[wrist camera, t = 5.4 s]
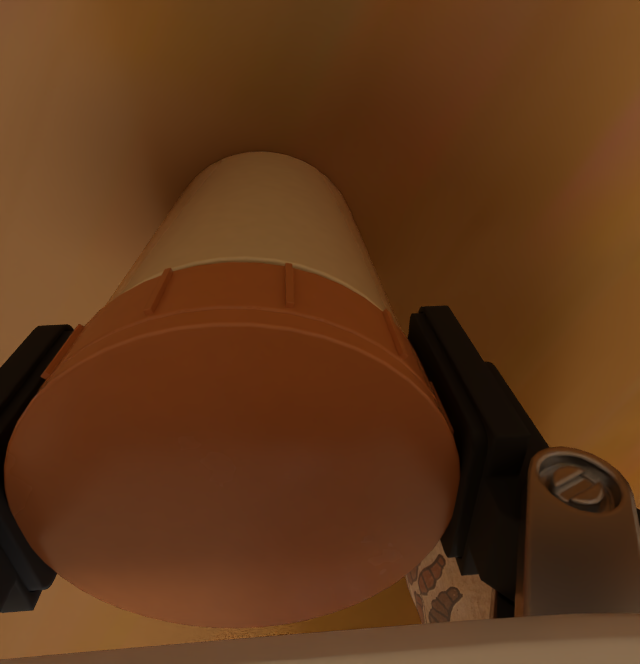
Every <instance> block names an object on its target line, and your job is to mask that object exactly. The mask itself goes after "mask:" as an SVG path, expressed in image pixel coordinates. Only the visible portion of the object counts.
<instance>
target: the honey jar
mask: <svg viewBox="0 0 640 664" xmlns="http://www.w3.org/2000/svg"><path fill="white" fill-rule="evenodd" d="M225 262H257V263H265V264H273V265H280V266H285V263H291V264H292V266H293V268H295V269H299V270H302V271H306V272H310V273H314V274H317V275H319V276H322V277H324V278H327V279H329V280H332V281H334V282H337V283H339V284H342V285H343V286H345V287H347V288H349V289H350V290H352V291H354V292H356V293H358V294H359V295H361V296H363V297H365V298H366V299H367V300H369V301H370V302H371V303H372V304H374V305H375V306H376V307H378V308H379V309H380V310H382V311H384V310H385V309H387V310H388V311H389V312H390V313H391V316H392V318H393V321H394V323H395V324H396V325H397V326H398V327H399V328H400V326H399V324H398V321H397V319H396V317H395V314H394V312H393V310H392V307H391V305H390V303H389V300H388V298H387V296H386V293H385V291H384V289H383V286H382V284H381V282H380V279H379V277H378V275H377V272H376V270H375V268H374V265H373V263H372V260H371V258H370V256H369V253H368V251H367V249H366V246H365V244H364V242H363V239H362V237H361V235H360V232H359V230H358V228H357V225H356V223H355V221H354V218H353V216H352V214H351V211H350V209H349V207H348V205H347V203H346V201H345V199H344V198H343V196H342V194H341V193H340V192H339V190H338V189H337V188H336V186H335V185H334V184H333V183H332V182H331V181H330V180H329V179H328V178H327V177H326V176H325V175H324V174H322V173H321V172H320V171H318V170H317V169H316V168H314V167H312V166H311V165H309V164H307V163H305V162H304V161H301V160H299V159H296V158H294V157H291V156H288V155H284V154H280V153H273V152H247V153H241V154H236V155H233V156H230V157H227V158H224V159H222V160H220V161H218V162H216V163H214V164H212V165H211V166H209V167H208V168H206V169H205V170H203V171H202V172H201V173H200V174H199V175H197V176H196V177H195V178H194V179H193V180H192V181H191V183H190V184H189V185H188V186H187V188H186V189H185V190H184V192H183V193H182V195H181V196H180V197H179V199H178V200H177V202H176V203H175V205H174V206H173V208H172V209H171V211H170V212H169V213H168V215H167V216H166V218H165V219H164V221H163V222H162V224H161V225H160V227H159V228H158V229H157V231H156V232H155V234H154V235H153V237H152V238H151V240H150V241H149V243H148V244H147V245H146V247H145V248H144V250H143V251H142V253H141V254H140V256H139V257H138V259H137V260H136V261H135V263H134V264H133V266H132V267H131V269H130V270H129V272H128V273H127V275H126V276H125V277H124V279H123V280H122V282H121V283H120V285H119V286H118V288H117V289H116V291H115V292H114V293H113V295H112V296H111V298H110V299H109V301H108V302H107V304H109V303H110V302H111V301H113V300H114V299H115V298H117V297H118V296H119V295H121V294H122V293H124V292H126V291H128V290H130V289H132V288H134V287H135V286H137V285H139V284H141V283H143V282H145V281H148V280H150V279H153V278H156V277H158V276H161V275H162V273H163V271H164V270H165V269H167V268H171V269H172V271H176V270H181V269H185V268H189V267H193V266H197V265H206V264H215V263H225ZM107 304H106V305H107ZM106 305H105V306H106ZM400 329H401V328H400Z"/></svg>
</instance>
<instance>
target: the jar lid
mask: <svg viewBox="0 0 640 664" xmlns="http://www.w3.org/2000/svg"><path fill="white" fill-rule="evenodd" d="M41 377H42V378H44V379H46V381H45V382H44V384H43V385H42V386H41V388H40V389H39V390H38V392H37V393H36V395H35V396H34V398H33V399H32V400H31V402H30V403H29V405H28V406H27V408H26V409H25V411H24V412H23V414H22V415H21V417H20V418H19V420H18V421H17V423H16V426H15V428H14V430H13V433H12V435H11V437H10V440H9V442H8V446H7V452H6V457H5V462H4V490H5V494H6V498H7V502H8V506H9V509H10V511H11V513H12V515H13V516H14V518H15V520H16V522H17V524H18V526H19V528H20V530H21V531H22V533H23V535H24V537H25V538H26V540H27V542H28V543H29V545H30V546H31V548H32V549H33V551H34V552H35V553H36V554H37V555H38V556H39V557H40V558H41V559H42V560H43V561H44V563H46V564H47V565H48V566H49V567H50V568H51V569H53V570H54V571H55V572H56V573H57V574H59V575H60V576H61V577H62V578H64V579H65V580H67V581H68V582H70V583H71V584H73V585H74V586H76V587H77V588H79V589H80V590H82V591H84V592H86V593H88V594H90V595H92V596H94V597H95V598H97V599H99V600H101V601H104V602H106V603H108V604H111V605H113V606H116V607H118V608H120V609H123V610H126V611H129V612H132V613H135V614H139V615H142V616H145V617H149V618H153V619H157V620H162V621H166V622H171V623H177V624H184V625H190V626H200V627H212V628H252V627H266V626H275V625H283V624H289V623H294V622H299V621H304V620H309V619H313V618H316V617H320V616H324V615H328V614H331V613H334V612H336V611H339V610H342V609H345V608H348V607H350V606H353V605H355V604H357V603H359V602H362V601H364V600H366V599H368V598H370V597H372V596H374V595H376V594H378V593H379V592H381V591H383V590H385V589H387V588H388V587H390V586H391V585H393V584H394V583H396V582H397V581H398V580H400V579H401V578H403V577H404V576H406V575H407V574H408V573H409V572H410V571H411V570H413V569H414V568H415V567H416V566H417V565H418V564H420V563H421V562H422V560H423V559H424V558H425V557H426V556H427V555H428V554H429V553H430V552H431V551H432V550H433V549H434V547H435V546H436V544H437V543H438V541H439V540H440V539H441V537H442V536H443V534H444V533H445V531H446V529H447V527H448V525H449V523H450V521H451V519H452V516H453V511H454V507H455V502H456V497H457V492H458V487H459V481H460V458H459V453H458V450H457V446H456V443H455V439H454V436H453V434H454V430H453V428H452V425H451V423H450V421H449V419H448V417H447V414H446V412H445V410H444V408H443V405H442V403H441V401H440V399H439V397H438V394H437V392H436V390H435V388H434V385H433V383H432V382H429V380H428V378H427V375H426V373H425V371H424V369H423V366H422V364H421V362H420V360H419V358H418V356H417V354H416V352H415V350H414V348H413V346H412V345H411V343H410V342H409V340H408V339H407V338H406V336H405V335H404V333H403V332H402V331H401V329H400V328H399V327H398V326H397V325H396V324H395V323H394V321H393V318H392V316H391V313H390V312H389V311H388V310H387V309H385V310H384V311H382V310H380V309H379V308H378V307H376V306H375V305H374V304H372V303H371V302H370V301H369V300H367V299H366V298H365V297H363V296H361V295H359V294H358V293H356V292H354V291H352V290H350V289H349V288H347V287H345V286H343V285H342V284H339V283H337V282H334V281H332V280H329V279H327V278H324V277H322V276H319V275H317V274H314V273H310V272H306V271H302V270H299V269H295V268H293V266H292V264H291V263H285V266H280V265H273V264H265V263H257V262H225V263H215V264H206V265H197V266H193V267H189V268H185V269H181V270H176V271H172V269H171V268H167V269H165V270H164V271H163V273H162V275H161V276H158V277H156V278H153V279H150V280H148V281H145V282H143V283H141V284H139V285H137V286H135V287H134V288H132V289H130V290H128V291H126V292H124V293H122V294H121V295H119V296H118V297H117V298H115V299H114V300H113V301H111V302H110V303H109V304H107V305H106V306H105V307H103V308H102V309H101V310H99V311H98V312H97V314H96V315H95V316H94V317H93V318H92V319H91V320H90V321H89V322H88V323H87V324H86V325H85V326H82V325H80V324H79V325H78V326H77V327H76V328H75V330H74V331H73V332H72V334H71V335H70V336H69V338H68V339H67V341H66V342H65V343H64V345H63V346H62V347H61V349H60V350H59V351H58V353H57V354H56V356H55V357H54V358H53V360H52V361H51V362H50V364H49V365H48V367H47V368H46V369H45V371H44V372H43V373H42V375H41Z"/></svg>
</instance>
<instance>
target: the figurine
mask: <svg viewBox="0 0 640 664" xmlns="http://www.w3.org/2000/svg"><path fill="white" fill-rule="evenodd" d="M405 577H406V581H407V585H408V589H409V592H410V594H411V597H412V599H413V601H414V603H415V606H416V608H417V611H418V613H419V616H420V618H421V622H422V624H428V623H440V622H453V621H465V620H481V619H489V614H490V603H491V592H492V587H490V586H489V585H487V584H486V583H484V582H483V581H481V579H480V577H479V574H477V575H465V576H461V573H460V570H459V567H458V565H457V562H456V559H455V557H453V558H448V557H447V556H446V555H445V553H444V550H443V547H442V544H441V541H440V540H439V541H438V543H437V544H436V546H435V547H434V549H433V550H432V551H431V552H430V553H429V554H428V555H427V556H426V557H425V558H424V559H423V560H422V562H421V563H420V564H418V565H417V566H416V567H415V568H414V569H413V570H411V571H410V572H409V573H408V574H407V575H406V576H405Z"/></svg>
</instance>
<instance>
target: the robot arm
mask: <svg viewBox="0 0 640 664" xmlns="http://www.w3.org/2000/svg"><path fill="white" fill-rule="evenodd" d="M73 331H74V329H73V328H72V327H71V326H70V325H68V324H66V325H46V326H38V327H36V328H35V329H34V330H33V331H32V332H31V334H30V335H29V336H28V337H27V338H26V339H25V340H24V342H23V343H22V344H21V345H20V346H19V347H18V348H17V349H16V351H15V352H14V353H13V354H12V355H11V356H10V357H9V359H8V360H7V361H6V362H5V363H4V364H3V365H2V367H1V368H0V612H1V613H5V612H18V611H30V610H34V608H35V605H36V603H37V601H38V598H39V596H40V594H41V592H42V590H45V589H48V588H49V587H50V586H51V585H52V583H53V581H54V579H55V577H56V574H57V573H56V572H55V571H54V570H53V569H51V568H50V567H49V566H48V565H47V564H46V563H44V561H43V560H42V559H41V558H40V557H39V556H38V555H37V554H36V553H35V552H34V551H33V549H32V548H31V546H30V545H29V543H28V542H27V540H26V538H25V537H24V535H23V533H22V531H21V530H20V528H19V526H18V524H17V522H16V520H15V518H14V516H13V515H12V513H11V511H10V509H9V506H8V502H7V498H6V494H5V490H4V462H5V457H6V452H7V446H8V442H9V440H10V437H11V435H12V433H13V430H14V428H15V426H16V423H17V421H18V420H19V418H20V417H21V415H22V414H23V412H24V411H25V409H26V408H27V406H28V405H29V403H30V402H31V400H32V399H33V398H34V396H35V395H36V393H37V392H38V390H39V389H40V388H41V386H42V385H43V384H44V382H45V381H46V379H44V378H42V377H41V375H42V373H43V372H44V371H45V369H46V368H47V367H48V365H49V364H50V362H51V361H52V360H53V358H54V357H55V356H56V354H57V353H58V351H59V350H60V349H61V347H62V346H63V345H64V343H65V342H66V341H67V339H68V338H69V336H70V335H71V334H72V332H73ZM408 340H409V342H410V343H411V345H412V346H413V348H414V350H415V352H416V354H417V356H418V358H419V360H420V362H421V364H422V366H423V369H424V371H425V373H426V375H427V378H428V380H429V382H432V383H433V385H434V388H435V390H436V392H437V394H438V397H439V399H440V401H441V403H442V405H443V408H444V410H445V412H446V414H447V417H448V419H449V421H450V423H451V425H452V428H453V430H454V434H453V436H454V439H455V443H456V446H457V450H458V453H459V458H460V481H459V487H458V492H457V497H456V502H455V507H454V511H453V516H452V519H451V521H450V523H449V525H448V527H447V529H446V531H445V533H444V534H443V536H442V537H441V539H440V541H441V544H442V547H443V550H444V553H445V555H446V556H447V557H448V558H453V557H455V559H456V562H457V565H458V567H459V570H460V573H461V576H465V575H477V574H479V577H480V579H481V581H483V582H484V583H486V584H487V585H489V586H490V587H492V592H491V603H490V614H489V619H481V620H465V621H453V622H440V623H428V624H415V625H403V626H390V627H378V628H365V629H353V630H340V631H328V632H315V633H303V634H290V635H279V636H267V637H255V638H243V639H231V640H220V641H208V642H196V643H184V644H172V645H161V646H149V647H138V648H126V649H115V650H103V651H91V652H80V653H68V654H57V655H46V656H35V657H24V658H13V659H2V660H0V664H640V510H639V509H637V508H636V505H635V500H634V495H633V493H632V490H631V488H630V485H629V483H628V482H627V481H626V479H625V478H624V477H623V476H622V475H621V473H620V472H619V471H618V470H616V469H615V468H614V467H613V466H611V465H610V464H609V463H608V462H606V461H604V460H603V459H601V458H599V457H597V456H595V455H593V454H591V453H588V452H585V451H582V450H579V449H576V448H569V447H549V446H548V444H547V443H546V442H545V440H544V439H543V437H542V436H541V434H540V433H539V431H538V430H537V428H536V427H535V425H534V424H533V422H532V421H531V419H530V418H529V416H528V415H527V413H526V412H525V410H524V409H523V407H522V406H521V404H520V403H519V401H518V400H517V398H516V397H515V395H514V394H513V392H512V391H511V389H510V388H509V386H508V385H507V383H506V382H505V380H504V379H503V377H502V376H501V374H500V373H499V371H498V370H497V368H496V367H495V366H494V365H493V364H492V363H490V362H484V361H483V359H482V358H481V356H480V355H479V353H478V351H477V350H476V348H475V347H474V345H473V344H472V342H471V341H470V339H469V338H468V336H467V334H466V333H465V331H464V330H463V328H462V327H461V325H460V324H459V322H458V320H457V319H456V317H455V316H454V314H453V313H452V311H451V310H450V308H449V307H448V306H425V307H421V308H420V309H419V312H418V313H416V314H411V317H410V323H409V334H408Z"/></svg>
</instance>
